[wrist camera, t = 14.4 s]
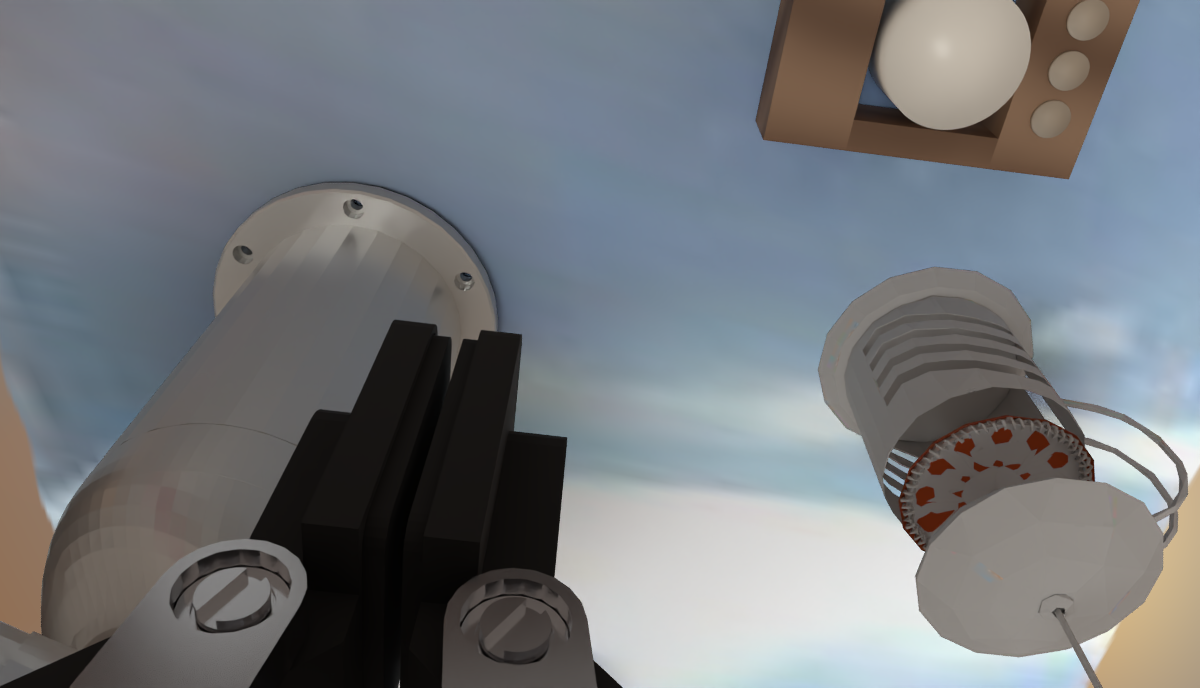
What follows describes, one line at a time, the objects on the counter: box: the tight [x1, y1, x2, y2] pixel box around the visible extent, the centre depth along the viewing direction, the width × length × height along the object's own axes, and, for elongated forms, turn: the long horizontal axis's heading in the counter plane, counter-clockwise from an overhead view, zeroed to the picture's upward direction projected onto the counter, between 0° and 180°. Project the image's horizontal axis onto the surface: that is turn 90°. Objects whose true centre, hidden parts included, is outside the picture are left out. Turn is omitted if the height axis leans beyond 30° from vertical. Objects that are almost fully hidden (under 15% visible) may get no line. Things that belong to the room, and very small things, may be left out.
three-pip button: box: [868, 0, 1031, 130], centre depth 34 cm, size 5×5×3 cm
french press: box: [818, 267, 1188, 688], centre depth 32 cm, size 10×12×25 cm
